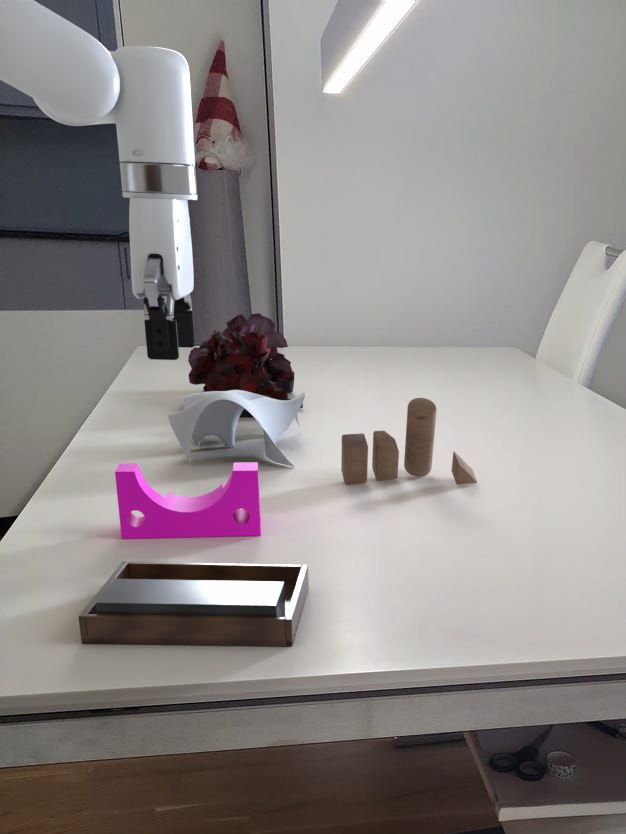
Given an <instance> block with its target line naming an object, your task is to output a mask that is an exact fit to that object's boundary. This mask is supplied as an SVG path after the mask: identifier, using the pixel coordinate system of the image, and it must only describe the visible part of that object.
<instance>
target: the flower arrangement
mask: <svg viewBox="0 0 626 834" xmlns="http://www.w3.org/2000/svg"><path fill="white" fill-rule="evenodd" d="M225 324H226V326H227V327H226V328H225V329H224V330H220V331H219V330H216V328H214V329H213V333H212V334H211V335H210V338H209V339H208V340H205V341H202V343H201V344H200V345H199V347H196V346H194V347H193V348H191V350H190V352H189V355H188V360H187V362H188V364H189V366H190V368H191V370H190V372H189V373H188V380H189V381H188V382H189V384H191V385H194V386H197V385H204V386H203V387H202V389H203V390H202V392H210V391H230V390H243V391H247V392H251V393H255V394H259V395H263V396H266V397H269V398H272V399H277V400H291V399H292V398H289V396H288V393H293V392H294V387H295V371H294V370H293V369H292V365H291V364H292V362H291V361H290V360H289V359H287V358H286V357H285V354H283V353H282V352H281V353H280V352H279V351H278V349H283V348H284V349H285V348H289V346H288V343H287V339H286V338H285V337H284V335H282V333H281V332H278V331H276V324H275V322H274V321H273V320H272V319H271V318H269V317H267V316H264V315H262V314H261V313H260V312H258V313H251V314H250V316H249V317H248V318H247V319H246V317H245V316H244V315H243V314H242V313H241V314H237V315H236V316H234V317H233V318H232V319H230V320H228V321H226V322H225ZM303 408H304V402H303V403H302V405H301V407H300V409H303ZM240 416H248V417H247V418H253V417H252V416H253V415H252V414H251V413H250V412H249V411H247V410H246V409H245V408H244V410H243V411H242V413H241V415H240ZM249 416H250V417H249Z"/></svg>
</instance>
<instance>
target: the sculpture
mask: <svg viewBox="0 0 626 834" xmlns="http://www.w3.org/2000/svg"><path fill="white" fill-rule="evenodd" d="M305 398H306V392H302V393H300V394H298V395H297V396H295V397H294V398H290V399H291V400H277V399H272V398H269V397H266V396H263V395H259V394H255V393H251V392H247V391H243V390H230V391H210V392H196V393H190V394H187V395H184V397H183V409H181V410H179V411H176V412H173V413H169V414H167V418H168V421H169V422H168V423H169V424H170V426H171V429H172V431H173V433H174V435H175V438H176V440H177V442H178V443H179V445H180V447H181V449H182V450H183V453H184V455H185V456H186V458H187V460H188V462H189V465H190V466H191V467H193V466H192V465H193V464H192V453H191V451H192V441H193V442H194V443H195V445H196V446H197V447H199V446H200V443H201V441H202V440H203V439H204V438H206V436H214V437H216V438H217V439H219V440H220V441H221V442H222V444H223V445H224V446H225V447H228V448H232V447H233V448H234V447H235V437H236V429H237V425H238V421H239V419H240V418H241V417H240V415H241V413H242V411H243V410H244V408H245V409H246V410H247V411H249V412H250V413H251V414H252V415H253V417H252V418H254V419H255V421H257V422H258V424H259V425H260V426H261V428H262V432H263V437H264V445H265V457H266V458H267V459H268V460H269V461H272V462H273V463H276V464H280V465H285V466H288V467H293V468H296V466H295V465H294V464H293V463H292V462H291V461H290V460H289V459H288V458H287V457H286V456H285V455H284V453H283V452H282V450H281V449H280V448H279V447H278V446H277V444H276V443H277V442H278V440H280V439H281V437H282V436H283V435H284V434H285V433H286V432H287V430H288V429H289V427H290V426H291V424H292V423H293V421H294V420H295V421H296V423H297V425H298V427H299V428H301V426H300V423H299V420H298V413H299V411H300V409H301V408H300V407H301V405H302V403H303V404H304V401H305Z"/></svg>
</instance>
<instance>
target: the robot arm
mask: <svg viewBox="0 0 626 834" xmlns="http://www.w3.org/2000/svg"><path fill="white" fill-rule="evenodd" d="M190 77H191V76H190V67H189V64H188V62H187V60H186V58H185V56H184V55H183V54H181V53H180V52H178V51H176V50H173V49H171V48H170V49H169V48H164V47H159V46H150V45H148V46H147V45H125V46H121V47H118V48H116V49H115V51H114V50H108V49H107V48H106V47H105V46H104V45H103V44H102V43H101V42H100V41H99V40H98V39H97V38H96V37H94V36H93V35H92V34H90V33H89V32H87V31H85V30H84V29H83V28H82V27H79V26H77V25H76V24H75V23H73V22H71V21H70V20H67V19H66V18H64V17H62V15H59V14H57V13H56V12H54V11H53V10H51V9H49V8H47V6H44V5H42V4H41V3H39V2H37V1H36V0H0V81H2V82H3V83H5V84H7V85H9V86H11V87H13V89H16V90H18V91H19V92H21V93H24V94H25V95H27V96H28V97H31V98H32V100H33V101H34V103H35V104H36V105H37V107H38V109H40V110H41V111H42V112H43V113H44V114H45V115H46V116H47V117H49V118H50V119H51V120H53V121H55V122H57V123H60V124H62V125H66V126H70V127H71V126H72V127H84V126H93V125H106V124H115V127H116V137H117V138H116V139H117V149H118V158H119V159H118V160H119V169H120V170H119V171H120V180H121V191H122V198H128V199H129V209H128V210H129V211H128V221H129V222H128V229H129V251H130V252H129V253H130V269H131V270H130V272H131V273H130V274H131V289H132V290H131V291H132V294H133V296H134V297H135V298H136V299H138V300H142V299H143V304H144V306H143V317H144V322H143V323H144V331H145V344H146V356H147V359H149V360H155V361H157V360H159V361H176V360H178V359H179V358H180V348H188V349H189V348H191V349H193V348H195V347H196V334H195V319H194V318H195V317H194V310H193V301H192V297H191V293H192V292H193V291H194V283H195V282H194V281H195V274H194V258H193V244H192V233H191V218H190V213H189V203H188V201H198V187H197V186H198V185H197V183H198V182H197V170H196V156H195V155H196V154H195V141H194V139H195V138H194V125H193V124H194V123H193V109H192V107H193V106H192V94H191V93H192V92H191V80H190V79H191V78H190Z"/></svg>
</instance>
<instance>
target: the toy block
mask: <svg viewBox="0 0 626 834" xmlns="http://www.w3.org/2000/svg"><path fill="white" fill-rule="evenodd" d="M114 476H115V486H116V497H117V506H118V507H117V508H118V516H119V517H118V518H119V525H120V526H119V527H120V536H121V539H122V540H123V539H124V540H125V539H126V540H127V539H128V540H131V539H134V540H135V539H173V538H174V539H175V538H181V539H182V538H219V537H222V538H223V537H225V538H226V537H261V536H262V528H261V527H262V526H261V525H262V523H261V519H262V518H261V501H260V500H261V499H260V481H259V480H260V479H259V462H257V461H256V462H254V461H252V462H251V461H250V462H247V461H245V462H233V464H232V470H231V474H230V476H229V478H228V480H227V482H223V483H221V484H220V485H219V486H218V487H216V488H215V489H213V490H212V491H209V492H208V493H205V494H201V495H198V496H182V495H177V494H174V493H171V492H169V491H167V492H166V495H165V496H163V495H161V494H160V493H159V492H157V491H156V490H155V489H154V488H153V487H152V486H151V485H150V484H149V482H148V481H147V480H146V479H145V477H144V475H143V473H142V471H141V469H140V465H139V463H137V462H135V463H131V462H129V463H128V462H126V463H125V462H124V463H123V462H122V463H118V464H117V467H116V468H115V470H114ZM134 511H137V512H140V513H141V514H142V515H143V516H136V515H135V514H134V513H133V512H134Z"/></svg>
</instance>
